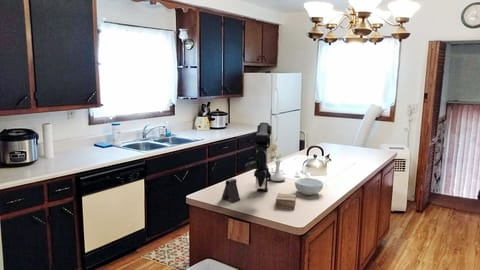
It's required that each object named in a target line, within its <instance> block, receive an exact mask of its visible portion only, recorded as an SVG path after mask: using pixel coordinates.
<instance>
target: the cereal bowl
mask: <svg viewBox="0 0 480 270" xmlns="http://www.w3.org/2000/svg"><path fill="white" fill-rule="evenodd" d="M294 184H295V185H294V186H295V189H296V190H297V191H298V192H300V193H302V194H303V195H305V196H307V195H308V196H314V195H315V194H318V193H320V192H321V191H322V190H323V188H324V182H323V181H322V180H319V179H317V178H310V177H307V178H306V177H302V178H301V177H300V178H298V179H295V181H294Z"/></svg>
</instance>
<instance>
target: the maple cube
mask: <svg viewBox="0 0 480 270" xmlns="http://www.w3.org/2000/svg"><path fill="white" fill-rule="evenodd" d="M265 181H266V177H265V180H264V182H263V184H262V186H261V187H259V183H258V178H257V177H255V189H257V188H259V189H265Z"/></svg>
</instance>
